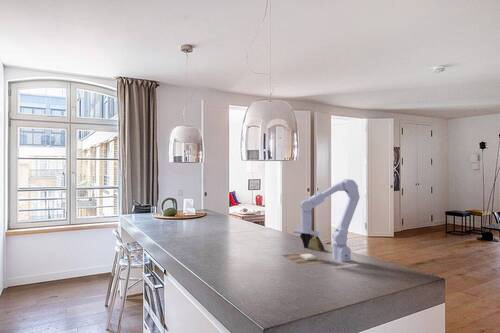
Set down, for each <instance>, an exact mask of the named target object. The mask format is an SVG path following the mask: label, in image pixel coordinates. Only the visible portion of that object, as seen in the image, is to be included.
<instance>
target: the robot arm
mask: <svg viewBox="0 0 500 333" xmlns="http://www.w3.org/2000/svg"><path fill="white" fill-rule="evenodd" d="M337 192H345V193H346V194H347V197H348V200H347V202H346V205H345V208H344V210H343V212H342V216H341V219H340V222H339V224H338V225H337V227H336V229H335V230H334V231H333V232H332V239H333V242H332V260H336V261H337V262H342V263H343V262H351V259H352V258H351V256H352V254H351V252H352V251H351V249H350V247H349V246H348V244H347V242H348V235H349V227H350V225H351V222H352V219H353V217H354V214H355V211H356V209H357V205H358V203H359V201H360V197H361V196H360V192H359V185H358V184H357V183H356V181H355V180H354V179H348V178H345V179H343V180H341V181H339V182H338V181H337V183H335V184H333V185H332V186H330V187H329V188H326V190H324V191H323V192H314V193H313V195H312V196H309V197H307V198H306V199H305V200H302V201H301V202H300V205H299V206H300V209H301V211H300V229H298V228H296V229H295V228H294V229H293V230H292V231H293V232H292V233H293V234H298V235H299V237H300V238H301V241H302V244H303V248H304V249H309V248H308V245H309V242H310V241H311V239H312V238H313V236H318V237H319V236H320V231H316V230H313V229H312V210H313V208H315V207H317V206H319V205H321V204H322V203H324V202H325V199H326V198H327V197H329V196H331V195H333V194H335V193H337Z"/></svg>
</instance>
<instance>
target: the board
mask: <svg viewBox="0 0 500 333" xmlns="http://www.w3.org/2000/svg"><path fill="white" fill-rule="evenodd" d="M301 254H309V252H306V251H304V252H296V253H287V254H286V253H285V254H281V256H282V257H284V258H286V259H288V260H290V261H292V262H294V263H295V264H298V265H300V266H309V265H318V264H326V263H327V264H328V263H329V261H327V260H324V259H322V258H319V257H317V256H316V257H317V260H311V261H306V260H304V259H302V258H300V255H301Z"/></svg>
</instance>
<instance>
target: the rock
mask: <svg viewBox="0 0 500 333" xmlns="http://www.w3.org/2000/svg"><path fill="white" fill-rule="evenodd" d="M324 246H325V245H324V244H323V242H322V240H321V239H320V237H319V236H315V235H313V236H312V237H311V239H310V241H309V245H308V248H307V249H309V250H315V251H319V252H320V251H325V250H326V249H325V247H324Z"/></svg>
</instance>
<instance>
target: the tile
mask: <svg viewBox="0 0 500 333" xmlns="http://www.w3.org/2000/svg"><path fill="white" fill-rule="evenodd" d="M300 258H302V259H304V260H306V261H311V260H317V256H316V255H314V254H311V253H308V254H301V255H300Z"/></svg>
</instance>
